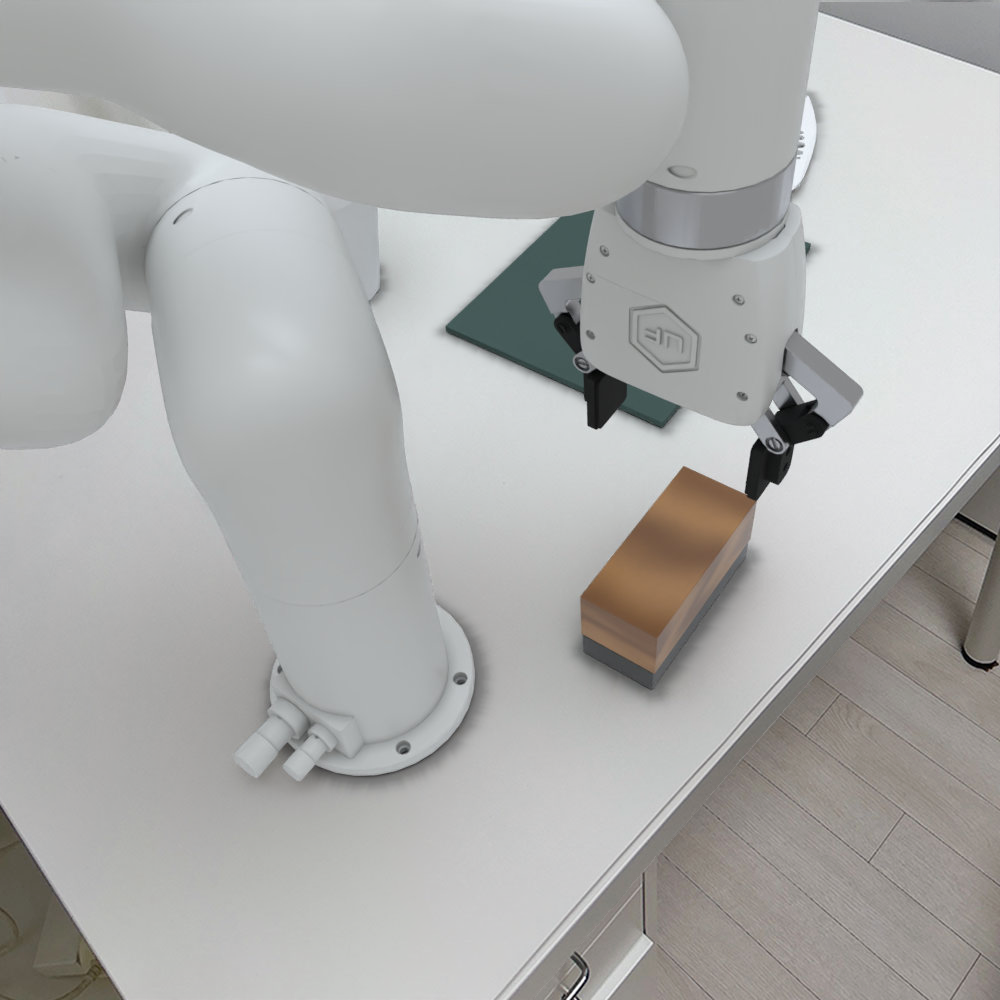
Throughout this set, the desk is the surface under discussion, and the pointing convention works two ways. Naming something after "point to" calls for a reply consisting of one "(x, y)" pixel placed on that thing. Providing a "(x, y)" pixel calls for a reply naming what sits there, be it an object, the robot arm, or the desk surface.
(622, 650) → the scrub brush
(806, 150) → the knife
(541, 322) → the mat
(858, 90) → the desk surface
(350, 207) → the foam cup
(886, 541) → the desk surface
